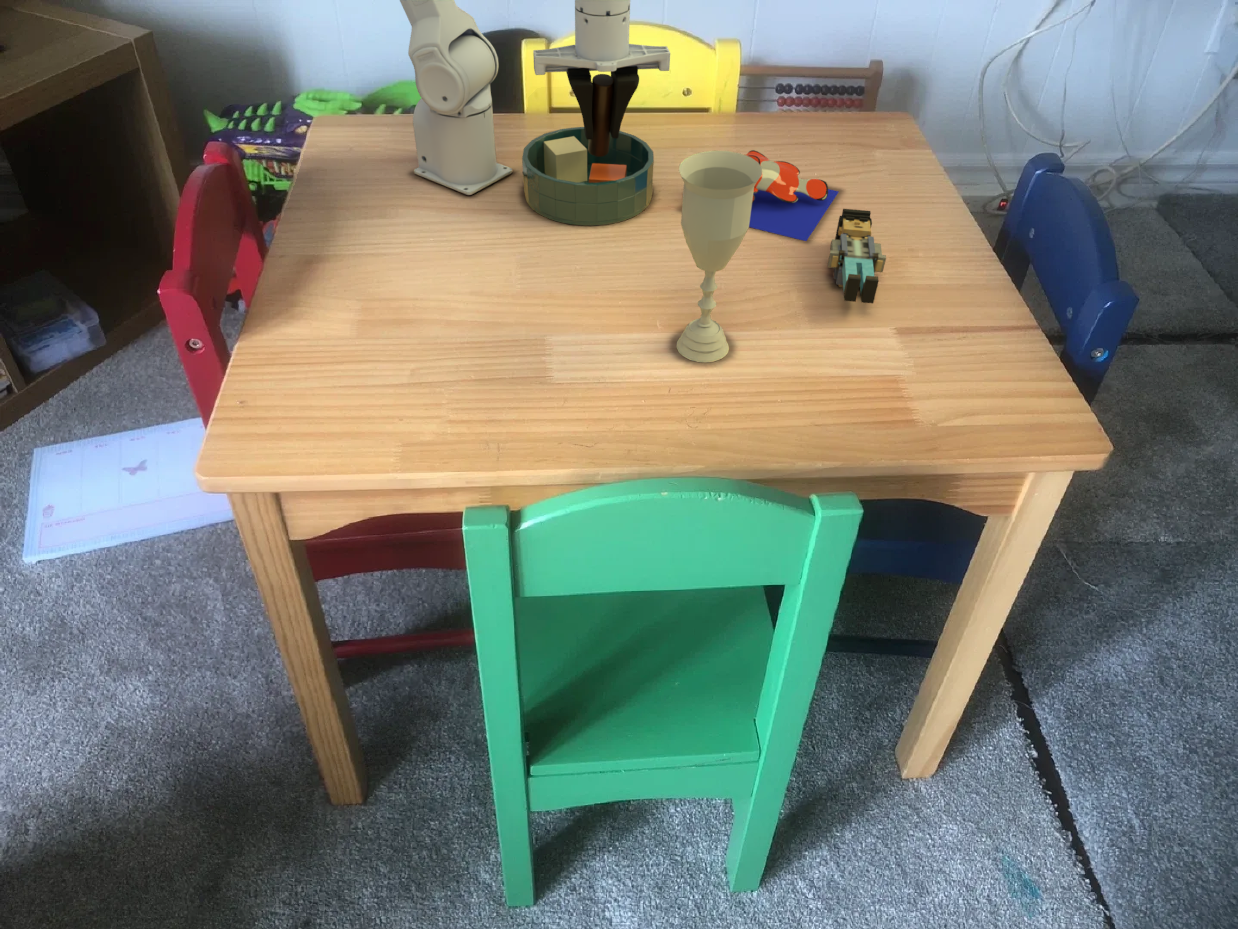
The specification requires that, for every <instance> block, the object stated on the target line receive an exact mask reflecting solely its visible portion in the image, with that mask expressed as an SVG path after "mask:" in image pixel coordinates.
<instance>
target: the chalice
mask: <svg viewBox="0 0 1238 929" xmlns="http://www.w3.org/2000/svg"><path fill="white" fill-rule="evenodd" d="M678 173H679V174H680V177H681V179H682V182H683V191H682V204H681V218H680V220H681V221H680V225H681V228H682V232H683V236H684V239H685V243H686V245H687V247H688V250H689V252H690V255H691V256H692V258H693V261H694V263H695V266H696V267H697V268H698V269H699V270H701V271H703V272H704V278H703V281H702V282H701V283H700V285H699V288H700V289H701V291H702V297H701V298H700V299H699V300H698V301H697V307H699V308H700V317H699V318H696V319H693V320H691V321H690V322H689V323H688V324H686V326H685V328H684V330H683V331H682V333H681V334H680V337H679V338H678V340H677V341H676V349H677V351H678V353H679V354H680V355H681V356H682V357H683V358H685V359H688V360H690V361H692V362H697V363H714V362H716V361H720V360H722V359H723V358H724V357H726V356H727V355H728V353H729V351H730V350H729V349H730V346H729V343H728V342H727V337H726V335H725V333H724V332H725V331H724V329H723V327H722V326H721V325H720V324H719V322H717V321H716V320H713V318H712V316H711V314H712V312H713V309H715V308H716V307H717V302H716V301H715V300H714V293H715V291H716V290H717V289H718V284H717V283H716V277H715V275H716V273H717V272H720V271H722V270H724V269H725V268H726V267H727V265H728V264H729V263H730V261H731V259H732V258H733V256H734V255H735V253H736V251H738V249H739V248H740V246H741V244H742V242H743V240H744V239H745V238H744V237H745V236H746V234H747V232H748V230H749V228H750V227H749V222H750V215H751V207H752V199H753V192H754V186H755V184H756V183H757V181H758V180H759V178H760V177H761V175H762V168H761V166H760V165H759V163H758V162H757V161H755V160H754V159H752V158H751V157H749V156H746V154H743V153H741V152H735V151H730V150H707V151H700V152H698V153H694V154H691V155H690V156H687V157H686V158H684V159H683V160H682V161H681V163H679V167H678Z"/></svg>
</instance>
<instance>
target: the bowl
mask: <svg viewBox="0 0 1238 929" xmlns="http://www.w3.org/2000/svg"><path fill="white" fill-rule="evenodd" d="M572 136H574V137H575V138H576V139H577V140H578V141H579V142H580V143H581V144H582V145H583V146H584V147H585V148H586V149H587V181H584V182H571V181H565V180H560V179H556V178H553V177H551V176H548V175H546V174H545V166H544V141H550V140H555V139H561V138H567V137H572ZM588 143H589V140H587V139H586V136H585V132H584V126H576V127H567V128H560V129H556V130H553V131H549V132H546V133H543V134H541V135H539V136H537V137H535V138H533V139H532V140H530V141H529V142H528V143H527V145H525V147H524V148H523V151H522V157H521V160H522V162H521V163H522V180H523V192H524V198H525V201H526V203H527V205H528V207H530V209H531V210H533V211H534V212H535V213H537V214H538V215H540V216H541V217H544V218H546V219H549V220H551V221H554V222H558V223H562V224H567V225H572V226H573V225H574V226H587V227H589V226H590V227H591V226H605V225H611V224H616V223H622V222H625V221H627V220H630V219H632V218H634V217H636V216H638V215H639V214H641V213H642V212H644V211H645V210H646V209H647V208H648V207H649V205H650V204H651V200H652V197H653V182H654V164H655V161H654V158H655V156H654V151H653V149H652V148H651V147H650V146H649V144H648V143H647V142H646V141H645V140H643V139H641V138H640V137H638V136H636V135H634V134H631V133H628V132H625V131H622V130H620V131H619V137H618V138H613V139H612V136H611V133H610V140H609V151H608V153H607V155H605V156H602V157H597V156H593V155H591V154H590V153H589V151H588ZM592 163H596V164H616V165H626V177H624V178H621V179H618V180H614V181H606V182H599V183H589V176H590V171H591V166H592Z"/></svg>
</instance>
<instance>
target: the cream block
mask: <svg viewBox="0 0 1238 929" xmlns="http://www.w3.org/2000/svg"><path fill="white" fill-rule="evenodd" d="M544 166H545V174H546V175H548V176H551V177H553V178H556V179H560V180H565V181H571V182H584V181H587V149H586V148H585V147H584V146H583V145H582V144H581V143H580V142H579V141H578V140H577V139H576V138H575V137H574V136H572V137H567V138H561V139H555V140H550V141H544Z"/></svg>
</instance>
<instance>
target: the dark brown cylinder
mask: <svg viewBox="0 0 1238 929" xmlns="http://www.w3.org/2000/svg"><path fill="white" fill-rule="evenodd" d="M591 81H592V84H593V95H592V124H593V139H589V143H588V151H589V153H590V154H591V155H593V156H597V157H602V156H605V155H607V153H608V151H609V140H610V123H611V115H612V103H613V91H614V79H613V78H612V77H611V74H607V73H598V74H596V75H595V74H594V76H593V77H592V78H591Z"/></svg>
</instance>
